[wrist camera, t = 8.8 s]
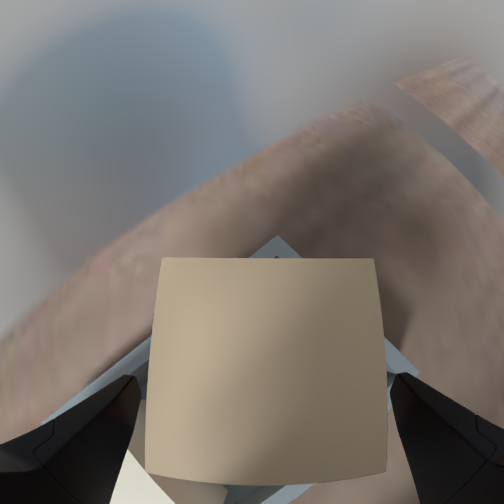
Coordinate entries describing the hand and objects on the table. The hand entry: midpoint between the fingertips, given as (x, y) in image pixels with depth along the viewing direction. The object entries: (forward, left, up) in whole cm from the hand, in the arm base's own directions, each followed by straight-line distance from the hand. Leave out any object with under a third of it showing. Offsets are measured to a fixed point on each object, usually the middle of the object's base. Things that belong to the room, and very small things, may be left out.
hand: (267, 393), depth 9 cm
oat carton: (0, 0, -9) cm, 9 cm away
